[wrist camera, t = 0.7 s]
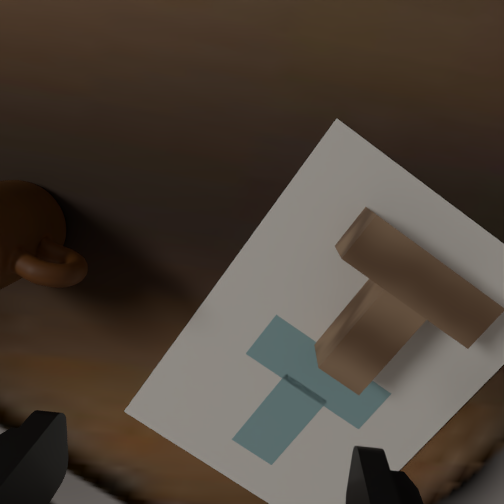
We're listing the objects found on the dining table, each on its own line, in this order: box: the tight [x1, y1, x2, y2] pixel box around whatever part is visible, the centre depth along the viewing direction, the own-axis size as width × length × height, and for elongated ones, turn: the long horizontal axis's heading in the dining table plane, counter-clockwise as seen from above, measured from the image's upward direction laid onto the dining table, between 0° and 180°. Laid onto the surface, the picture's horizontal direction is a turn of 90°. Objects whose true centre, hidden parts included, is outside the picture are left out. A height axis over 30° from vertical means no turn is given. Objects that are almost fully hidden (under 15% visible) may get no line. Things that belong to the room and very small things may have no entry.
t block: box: [314, 207, 504, 395], centre depth 35 cm, size 12×12×4 cm
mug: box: [0, 180, 88, 289], centre depth 33 cm, size 12×8×9 cm, turn 74°
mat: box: [124, 119, 504, 504], centre depth 38 cm, size 32×24×1 cm
